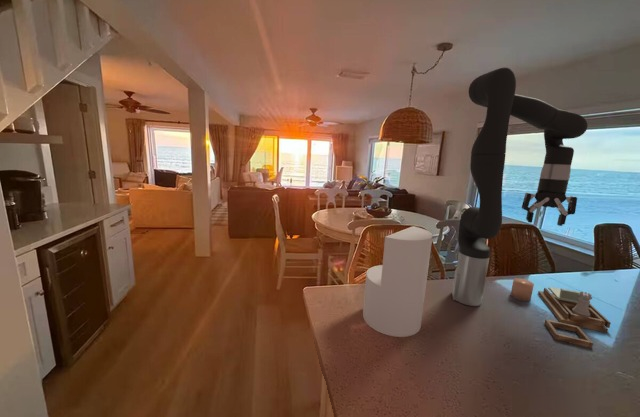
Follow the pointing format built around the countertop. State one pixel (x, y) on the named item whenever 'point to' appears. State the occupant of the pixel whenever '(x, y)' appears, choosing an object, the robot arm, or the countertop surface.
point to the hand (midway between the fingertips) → (544, 223)
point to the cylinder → (398, 284)
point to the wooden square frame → (583, 341)
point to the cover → (565, 294)
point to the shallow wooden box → (566, 316)
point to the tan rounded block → (522, 289)
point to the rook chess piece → (582, 304)
